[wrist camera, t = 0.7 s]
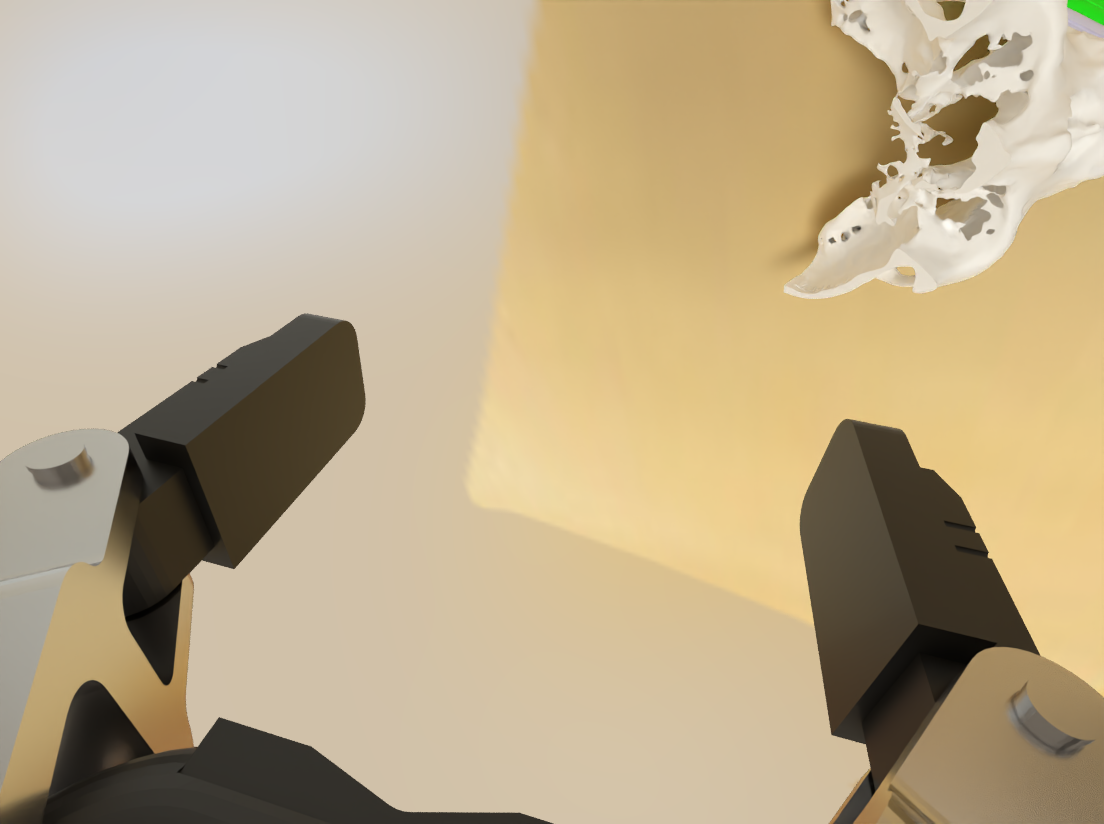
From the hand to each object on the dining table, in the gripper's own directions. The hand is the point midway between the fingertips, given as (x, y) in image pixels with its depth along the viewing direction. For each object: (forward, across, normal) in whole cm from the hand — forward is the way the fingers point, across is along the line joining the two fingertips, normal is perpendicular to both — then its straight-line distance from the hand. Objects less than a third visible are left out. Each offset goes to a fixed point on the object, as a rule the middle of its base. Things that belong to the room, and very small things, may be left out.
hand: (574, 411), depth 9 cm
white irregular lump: (+22, -11, -3) cm, 24 cm away
